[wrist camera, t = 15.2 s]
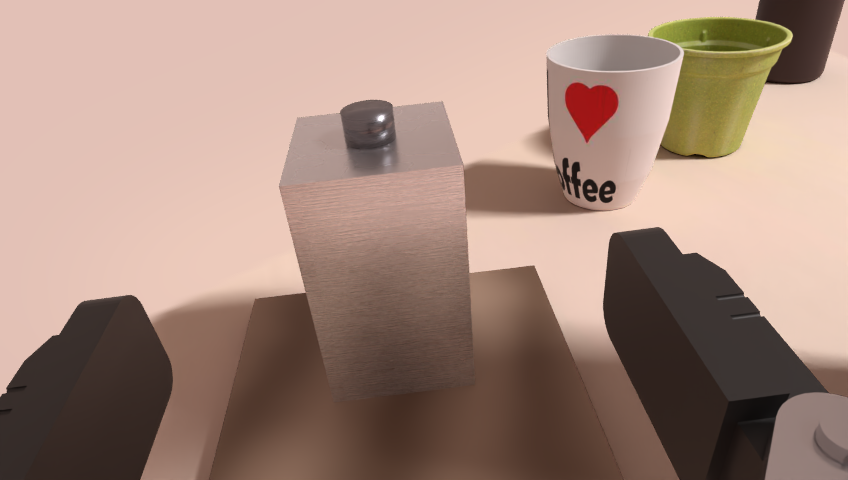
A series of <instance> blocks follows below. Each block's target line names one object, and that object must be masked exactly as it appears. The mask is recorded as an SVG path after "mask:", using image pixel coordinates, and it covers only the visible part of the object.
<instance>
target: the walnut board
mask: <svg viewBox="0 0 848 480" xmlns="http://www.w3.org/2000/svg"><path fill="white" fill-rule="evenodd" d="M469 279H470V298H471V316H472V335H473V354H474V373H475V385H469V386H461V387H453V388H445V389H437V390H429V391H421V392H413V393H405V394H397V395H390V396H382V397H374V398H366V399H358V400H350V401H342V402H334V401H333V397H332V393H331V389H330V385H329V381H328V377H327V374H326V370H325V366H324V362H323V358H322V354H321V350H320V346H319V342H318V338H317V334H316V330H315V326H314V322H313V318H312V315H311V311H310V307H309V303H308V299H307V295H306V293H301V294H293V295H284V296H276V297H268V298H259V299H255V302H254V306H253V309H252V313H251V317H250V321H249V325H248V329H247V333H246V337H245V341H244V345H243V349H242V353H241V356H240V360H239V364H238V368H237V372H236V376H235V380H234V384H233V388H232V392H231V396H230V399H229V403H228V407H227V411H226V415H225V419H224V423H223V427H222V431H221V435H220V439H219V442H218V446H217V450H216V454H215V458H214V462H213V466H212V470H211V474H210V478H209V480H624V479H623V477H622V475H621V472H620V470H619V467H618V465H617V463H616V460H615V458H614V455H613V453H612V451H611V448H610V446H609V444H608V441H607V439H606V436H605V434H604V432H603V429H602V427H601V424H600V422H599V420H598V417H597V415H596V412H595V410H594V408H593V405H592V403H591V400H590V398H589V396H588V393H587V391H586V388H585V386H584V384H583V381H582V379H581V377H580V374H579V372H578V369H577V367H576V365H575V362H574V360H573V357H572V355H571V353H570V350H569V348H568V345H567V343H566V341H565V338H564V336H563V333H562V331H561V329H560V326H559V324H558V321H557V319H556V317H555V314H554V312H553V309H552V307H551V305H550V302H549V300H548V298H547V295H546V293H545V290H544V288H543V286H542V283H541V281H540V278H539V276H538V274H537V271H536V269H535V266H526V267H518V268H510V269H501V270H493V271H484V272H476V273H469Z"/></svg>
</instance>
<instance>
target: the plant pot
mask: <svg viewBox="0 0 848 480" xmlns="http://www.w3.org/2000/svg"><path fill="white" fill-rule="evenodd" d="M648 37H654V38H659V39H663V40H667V41H670V42H672V43H675V44H677V45H678V46H680V47H681V48H682V49H683V51H684V56H683V60H682V65H681V69H680V73H679V78H678V82H677V87H676V91H675V95H674V100H673V104H672V108H671V113H670V117H669V121H668V124H667V127H666V130H665V132H664V135H663V138H662V141H661V144H660V145H661V146H663V147H664V148H665V149H667V150H669V151H672V152H674V153H676V154H680V155H685V156H688V155H691V154H702V155H704V156H706V157H719V156H724V155H727V154H730V153H732V152H734V151H736V150H737V149H738V148H739V147H740V145H741V143H742V140H743V137H744V135H745V132H746V130H747V127H748V125H749V122H750V119H751V117H752V114H753V112H754V109H755V107H756V105H757V102H758V100H759V97H760V94H761V92H762V89H763V87H764V84H765V82H766V79H767V77H768V75H769V72H770V70H771V67H772V66H773V65H774V64H775V63H776V62H777V60H778V58H779V56H780V53H781V51H782V49H783V48H785V47H786V46H788V45H789V44H790V42H791V40H792V37H793V34H792V32H791V31H790V30H788V29H787V28H785V27H783V26H781V25H778V24H774V23H771V22H766V21H761V20H754V19H745V18H734V17H707V18H706V17H705V18H693V19H683V20H676V21H673V22H667V23H664V24H661V25H659V26H657V27H654V28H653V29H651V31H650V32H649V33H648Z"/></svg>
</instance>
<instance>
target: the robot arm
mask: <svg viewBox="0 0 848 480" xmlns="http://www.w3.org/2000/svg"><path fill="white" fill-rule="evenodd" d="M603 311H604V319H605V324H606V328H607V331H608V334H609V337H610V339H611V341H612V343H613V345H614V347H615V349H616V351H617V353H618V355H619V357H620V359H621V362H622V364H623V366H624V368H625V370H626V372H627V374H628V376H629V378H630V380H631V382H632V384H633V386H634V388H635V390H636V392H637V394H638V396H639V398H640V400H641V402H642V404H643V406H644V408H645V410H646V412H647V414H648V416H649V418H650V420H651V422H652V424H653V426H654V428H655V430H656V432H657V434H658V436H659V439H660V441H661V443H662V445H663V447H664V449H665V451H666V453H667V455H668V457H669V459H670V461H671V463H672V465H673V467H674V469H675V471H676V473H677V475H678V477H679V479H680V480H848V397H844V396H841V395H837V394H830V393H828V391H827V390H826V389H825V388H824V387H823V386H822V385H821V383H820V382H819V381H818V380H817V379H816V378H815V376H814V375H813V374H812V373H811V372H810V370H809V369H808V368H807V367H806V366H805V364H804V363H803V362H802V361H801V360H800V359H799V357H798V356H797V355H796V354H795V353H794V351H793V350H792V349H791V348H790V347H789V346H788V344H787V343H786V342H785V341H784V340H783V338H782V337H781V336H780V335H779V334H778V332H777V331H776V330H775V329H774V328H773V327H772V325H771V324H770V323H769V322H768V321H767V319H766V318H765V317H764V316H763V317H761V316H760V311H759V310H758V309H757V308H756V306H755V305H754V304H753V303H752V302H751V301H750V299H749V298H748V297H744V292H743V291H742V290H741V289H740V287H739V286H738V285H737V284H736V283H735V282H734V280H733V279H732V278H731V277H730V276H729V274H728V273H727V272H726V271H725V270H724V269H722V268H720V267H719V266H717V265H716V264H714V263H712V262H711V261H709V260H707V259H706V258H704V257H702V256H701V255H699V254H698V253H690V254H682V253H681V252H680V250H679V249H678V248H677V246H676V245H675V244H674V242H673V241H672V240H671V239H670V237H669V236H668V235H667V233H666V232H665V231H664V230H663V229H662V228H659V227H656V228H648V229H641V230H633V231H625V232H618V233H614V234H612V236H611V238H610V242H609V249H608V259H607V269H606V280H605V290H604V300H603ZM172 382H173V376H172V368H171V363H170V360H169V358H168V356H167V354H166V352H165V350H164V348H163V346H162V344H161V342H160V340H159V338H158V336H157V334H156V332H155V330H154V328H153V326H152V324H151V322H150V320H149V318H148V316H147V314H146V312H145V310H144V308H143V306H142V304H141V303H140V301H139V300H138V299H137V298H136V297H134V296H132V295H126V296H119V297H112V298H104V299H96V300H89V301H84V302H82V303H80V304H79V305H78V306H77V308H76V309H75V311H74V312H73V314H72V315H71V317H70V319H69V320H68V322H67V323H66V325H65V326H64V328H63V330H62V331H61V333H60V334H59V335H56V336H52V337H51V338H50V339H49V340H48V341H46V342H45V343H44V344H43V345H42V346H41V347H40V348H39V349H37V350H36V351H35V352H34V353H33V354H32V355H31V356H30V357H28V358H27V359H26V360H25V361H24V363H23V364H22V365H21V367H20V368H19V370H18V371H17V373H16V374H15V376H14V377H13V379H12V381H11V382H10V383H9V385H8V386H7V388H6V389H7V393H5V394H2V396H1V397H0V480H140V479H141V476H142V473H143V470H144V467H145V465H146V462H147V459H148V456H149V454H150V451H151V448H152V445H153V442H154V440H155V437H156V434H157V431H158V428H159V426H160V423H161V420H162V417H163V415H164V412H165V409H166V406H167V403H168V401H169V398H170V395H171V391H172Z"/></svg>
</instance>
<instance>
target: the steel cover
mask: <svg viewBox="0 0 848 480" xmlns="http://www.w3.org/2000/svg"><path fill="white" fill-rule="evenodd" d="M279 188H280V193H281V196H282V200H283V204H284V208H285V212H286V216H287V220H288V223H289V228H290V232H291V236H292V240H293V244H294V248H295V252H296V256H297V259H298V263H299V267H300V271H301V275H302V279H303V283H304V287H305V291H306V295H307V299H308V303H309V307H310V311H311V315H312V318H313V322H314V326H315V330H316V334H317V338H318V342H319V346H320V350H321V354H322V358H323V362H324V366H325V370H326V374H327V377H328V381H329V385H330V389H331V393H332V397H333V401H334V402H342V401H350V400H358V399H366V398H374V397H382V396H390V395H397V394H405V393H413V392H421V391H429V390H437V389H445V388H453V387H461V386H469V385H475V373H474V354H473V335H472V316H471V298H470V279H469V260H468V241H467V223H466V204H465V185H464V167H463V162H462V159H461V156H460V153H459V150H458V147H457V144H456V141H455V138H454V134H453V131H452V128H451V125H450V123H449V119H448V116H447V113H446V110H445V107H444V104H443V102H433V103H424V104H415V105H406V106H398V107H393V106H392V104H391V103H389V102H387V101H382V100H366V101H360V102H355V103H352V104H350V105H347V106H346V107H344V108H343V109H342V110H341V112H340V113H336V114H327V115H318V116H310V117H301V118H297V121H296V124H295V128H294V132H293V136H292V139H291V143H290V147H289V151H288V155H287V158H286V162H285V165H284V169H283V173H282V177H281V180H280V184H279Z"/></svg>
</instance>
